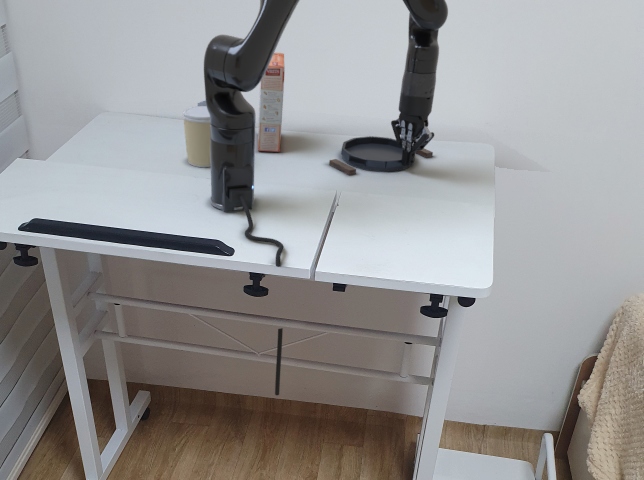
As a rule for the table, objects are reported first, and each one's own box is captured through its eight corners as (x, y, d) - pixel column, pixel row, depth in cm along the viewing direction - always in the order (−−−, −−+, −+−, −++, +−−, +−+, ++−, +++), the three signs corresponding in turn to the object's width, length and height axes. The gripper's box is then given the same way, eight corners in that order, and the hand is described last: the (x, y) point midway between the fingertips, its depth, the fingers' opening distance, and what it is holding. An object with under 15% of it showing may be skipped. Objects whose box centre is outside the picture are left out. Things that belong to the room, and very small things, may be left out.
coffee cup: (225, 156, 180) (225, 106, 173) (219, 169, 172) (219, 118, 165) (188, 153, 180) (186, 104, 173) (181, 167, 173) (179, 116, 166)
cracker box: (281, 153, 183) (285, 65, 170) (257, 152, 183) (259, 64, 170) (281, 135, 194) (284, 52, 182) (258, 134, 194) (261, 51, 182)
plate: (426, 167, 178) (428, 157, 176) (360, 174, 172) (361, 164, 171) (392, 143, 191) (393, 134, 190) (330, 149, 186) (331, 139, 184)
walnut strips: (432, 156, 184) (433, 152, 183) (349, 175, 172) (349, 170, 171) (411, 147, 189) (411, 142, 189) (329, 164, 177) (329, 160, 176)
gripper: (385, 86, 166) (377, 159, 177) (425, 100, 157) (413, 177, 168) (410, 82, 170) (400, 154, 180) (450, 95, 161) (437, 171, 171)
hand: (407, 165), depth 174 cm, fingers closed
